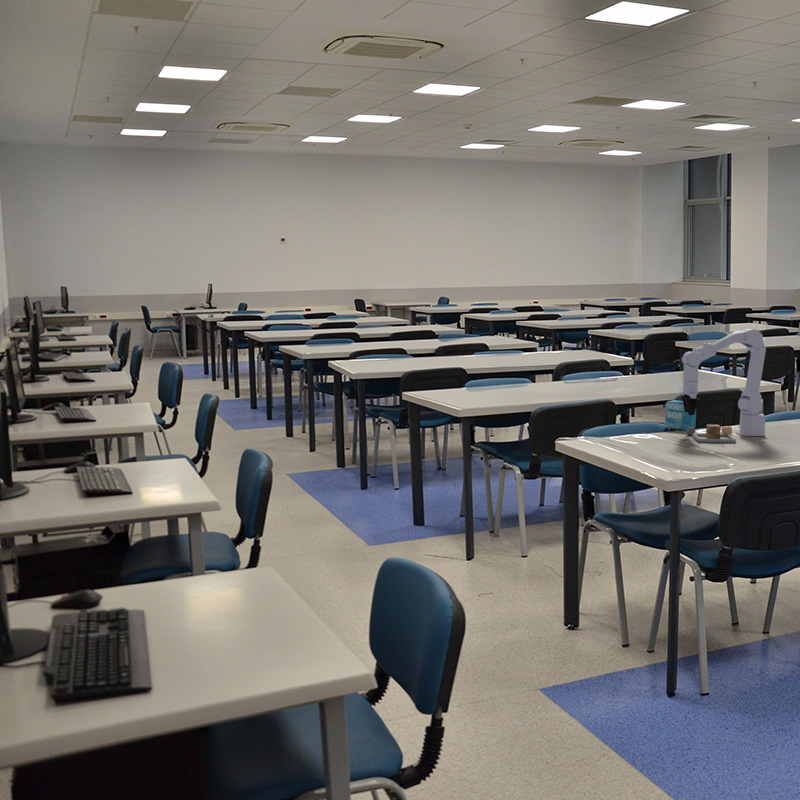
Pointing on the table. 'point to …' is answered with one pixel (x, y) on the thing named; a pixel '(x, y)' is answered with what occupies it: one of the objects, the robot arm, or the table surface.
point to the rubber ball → (690, 431)
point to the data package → (678, 416)
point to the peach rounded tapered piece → (726, 430)
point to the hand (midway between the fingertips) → (689, 413)
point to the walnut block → (713, 431)
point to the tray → (723, 439)
